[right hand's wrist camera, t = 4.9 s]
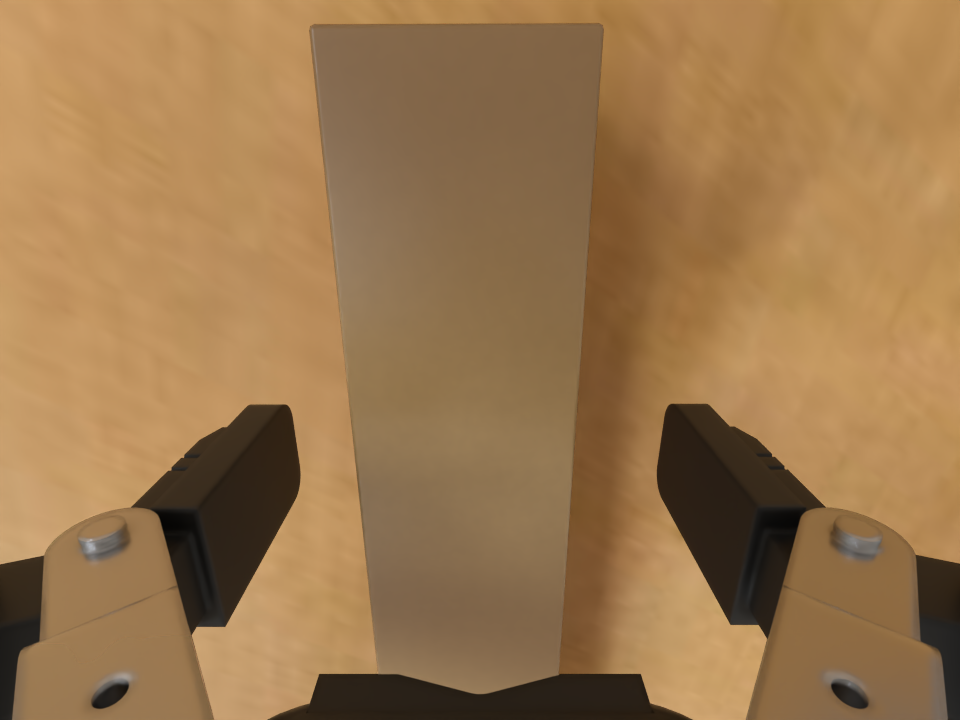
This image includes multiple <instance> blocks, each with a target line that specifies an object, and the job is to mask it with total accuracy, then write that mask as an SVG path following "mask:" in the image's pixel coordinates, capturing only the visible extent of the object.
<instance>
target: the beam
mask: <svg viewBox="0 0 960 720" xmlns="http://www.w3.org/2000/svg"><path fill="white" fill-rule="evenodd" d="M309 32H310V41H311V51H312V60H313V69H314V79H315V88H316V97H317V107H318V116H319V126H320V135H321V144H322V154H323V163H324V172H325V182H326V191H327V200H328V210H329V219H330V229H331V238H332V247H333V257H334V266H335V275H336V285H337V294H338V303H339V313H340V322H341V331H342V341H343V350H344V360H345V369H346V378H347V388H348V397H349V406H350V416H351V425H352V434H353V444H354V453H355V462H356V472H357V481H358V491H359V500H360V509H361V519H362V528H363V537H364V547H365V556H366V565H367V575H368V584H369V593H370V603H371V612H372V622H373V631H374V640H375V650H376V659H377V668H378V674H400V675H404V676H408V677H411V678H415V679H419V680H423V681H427V682H431V683H434V684H438V685H442V686H446V687H450V688H454V689H457V690H461V691H465V692H469V693H474V694H486V693H491V692H495V691H499V690H503V689H506V688H510V687H514V686H518V685H522V684H526V683H529V682H533V681H537V680H541V679H545V678H549V677H552V676H556V675H559V664H560V649H561V635H562V621H563V606H564V592H565V578H566V563H567V549H568V535H569V520H570V506H571V492H572V477H573V463H574V449H575V434H576V420H577V406H578V391H579V377H580V363H581V348H582V334H583V320H584V305H585V291H586V277H587V262H588V248H589V234H590V219H591V205H592V191H593V176H594V162H595V147H596V133H597V119H598V104H599V90H600V76H601V61H602V47H603V33H604V29H603V25H601V24H599V23H546V24H314V25H312V26H310V30H309Z"/></svg>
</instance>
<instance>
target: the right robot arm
mask: <svg viewBox="0 0 960 720" xmlns="http://www.w3.org/2000/svg"><path fill="white" fill-rule="evenodd" d="M657 483H658V489H659V493H660V495H661V498H662V500H663V502H664V503H665V505H666V507H667V509H668V511H669V513H670V514H671V516H672V518H673V520H674V522H675V524H676V525H677V527H678V529H679V531H680V533H681V535H682V536H683V538H684V540H685V542H686V544H687V546H688V547H689V549H690V551H691V553H692V555H693V557H694V558H695V560H696V562H697V564H698V566H699V568H700V570H701V571H702V573H703V575H704V577H705V579H706V581H707V582H708V584H709V586H710V588H711V590H712V592H713V593H714V595H715V597H716V599H717V601H718V603H719V604H720V606H721V608H722V610H723V612H724V614H725V615H726V617H727V619H728V621H729V623H730V625H759V626H760V628H761V629H762V631H763V632H764V634H765V636H766V637H767V643H766V646H765V650H764V654H763V657H762V661H761V665H760V669H759V672H758V676H757V680H756V683H755V687H754V691H753V695H752V698H751V702H750V706H749V709H748V713H747V717H746V720H960V564H958V563H953V562H948V561H943V560H939V559H934V558H929V557H924V556H919V555H915V552H914V551H913V549H912V547H911V546H910V545H909V543H908V542H907V541H906V540H905V539H904V538H903V537H902V536H900V535H899V534H898V533H896V532H895V531H894V530H892V529H890V528H889V527H887V526H886V525H884V524H882V523H880V522H878V521H876V520H874V519H871V518H869V517H867V516H864V515H861V514H858V513H855V512H851V511H847V510H843V509H836V508H826V507H825V506H824V505H823V504H822V503H821V502H820V501H819V500H818V499H817V498H816V497H815V496H814V495H813V494H812V493H811V492H810V491H809V490H808V489H807V488H806V487H805V486H804V485H803V484H802V483H801V482H800V481H799V480H798V479H797V478H796V477H795V476H794V475H793V474H792V473H791V472H790V471H789V470H785V469H784V465H783V464H782V463H780V462H779V461H778V460H777V459H776V458H775V457H772V454H771V453H770V452H769V451H768V450H767V449H766V448H765V447H764V446H763V445H762V444H761V443H760V442H759V441H758V440H757V439H756V438H754V437H752V436H750V435H749V434H747V433H745V432H743V431H741V430H739V429H738V428H736V427H730V426H729V425H728V424H727V423H726V422H725V421H724V420H723V419H722V418H721V417H720V416H719V415H718V414H717V413H716V412H715V411H714V410H713V409H712V408H711V406H709V405H708V404H670V405H669V406H668V407H667V409H666V412H665V417H664V424H663V431H662V438H661V444H660V451H659V458H658V465H657ZM299 486H300V464H299V457H298V451H297V444H296V437H295V430H294V423H293V417H292V413H291V410H290V408H289V407H288V406H287V405H249V406H247V407H246V408H245V409H244V410H243V411H242V412H241V413H240V414H239V415H238V416H237V417H236V418H235V420H234V421H233V422H232V423H231V424H230V425H229V426H228V427H222V428H221V429H219V430H217V431H215V432H213V433H212V434H210V435H208V436H206V437H204V438H203V439H201V440H199V441H198V442H197V443H196V444H195V445H194V446H193V447H192V448H191V449H190V450H189V451H188V452H187V453H186V454H185V455H184V458H181V459H180V460H179V461H178V462H177V463H176V464H175V465H174V466H173V467H172V470H171V471H168V472H167V473H166V474H165V475H164V476H163V477H162V478H160V479H159V480H158V481H157V482H156V483H155V484H154V485H153V486H152V487H151V488H150V489H149V490H148V491H147V492H146V493H145V494H144V495H143V496H142V497H141V498H140V499H139V500H138V501H137V502H136V503H135V504H134V505H133V506H132V507H131V508H124V509H117V510H113V511H109V512H105V513H102V514H99V515H96V516H93V517H91V518H89V519H86V520H84V521H82V522H80V523H78V524H76V525H74V526H73V527H71V528H70V529H68V530H66V531H65V532H64V533H62V534H61V535H60V536H58V537H57V538H56V539H55V540H54V541H53V542H52V543H51V545H50V546H49V547H48V549H47V551H46V552H45V556H40V557H35V558H30V559H25V560H20V561H15V562H10V563H6V564H1V565H0V720H214V717H213V713H212V709H211V706H210V702H209V698H208V695H207V691H206V687H205V683H204V680H203V676H202V672H201V669H200V665H199V661H198V657H197V654H196V650H195V646H194V643H193V639H192V634H193V632H194V630H195V629H196V627H225V626H226V624H227V623H228V621H229V619H230V617H231V615H232V614H233V612H234V610H235V608H236V606H237V605H238V603H239V601H240V599H241V597H242V595H243V594H244V592H245V590H246V588H247V586H248V585H249V583H250V581H251V579H252V577H253V575H254V574H255V572H256V570H257V568H258V566H259V565H260V563H261V561H262V559H263V557H264V556H265V554H266V552H267V550H268V548H269V546H270V545H271V543H272V541H273V539H274V537H275V536H276V534H277V532H278V530H279V528H280V526H281V525H282V523H283V521H284V519H285V517H286V516H287V514H288V512H289V510H290V508H291V507H292V505H293V503H294V501H295V499H296V497H297V494H298V491H299ZM268 720H692V719H690V718H688V717H686V716H684V715H682V714H680V713H677V712H674V711H672V710H669V709H666V708H664V707H661V706H657V705H654V704H650V702H649V699H648V696H647V693H646V689H645V686H644V683H643V680H642V677H641V674H560V675H556V676H552V677H549V678H545V679H541V680H537V681H533V682H529V683H526V684H522V685H518V686H514V687H510V688H506V689H503V690H499V691H495V692H491V693H486V694H474V693H469V692H465V691H461V690H457V689H454V688H450V687H446V686H442V685H438V684H434V683H431V682H427V681H423V680H419V679H415V678H411V677H408V676H404V675H400V674H319V677H318V680H317V683H316V686H315V689H314V693H313V696H312V699H311V702H310V704H306V705H303V706H299V707H296V708H294V709H291V710H288V711H286V712H283V713H280V714H278V715H276V716H274V717H272V718H270V719H268Z"/></svg>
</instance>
